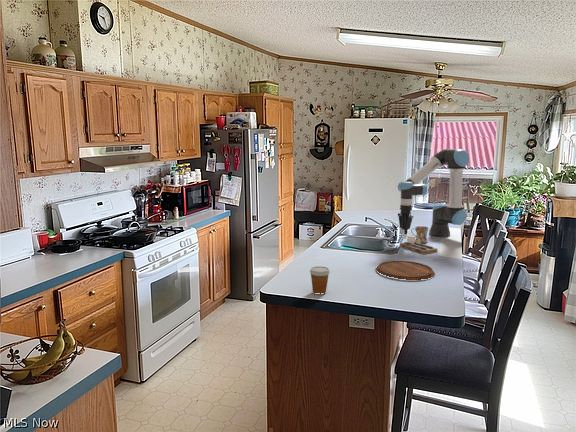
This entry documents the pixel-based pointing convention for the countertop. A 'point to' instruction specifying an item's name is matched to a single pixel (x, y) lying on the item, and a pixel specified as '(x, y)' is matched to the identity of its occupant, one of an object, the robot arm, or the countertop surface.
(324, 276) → the beer glass
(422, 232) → the mug
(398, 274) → the cutting board
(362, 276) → the countertop surface
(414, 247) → the wooden tray
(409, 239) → the fader knob
